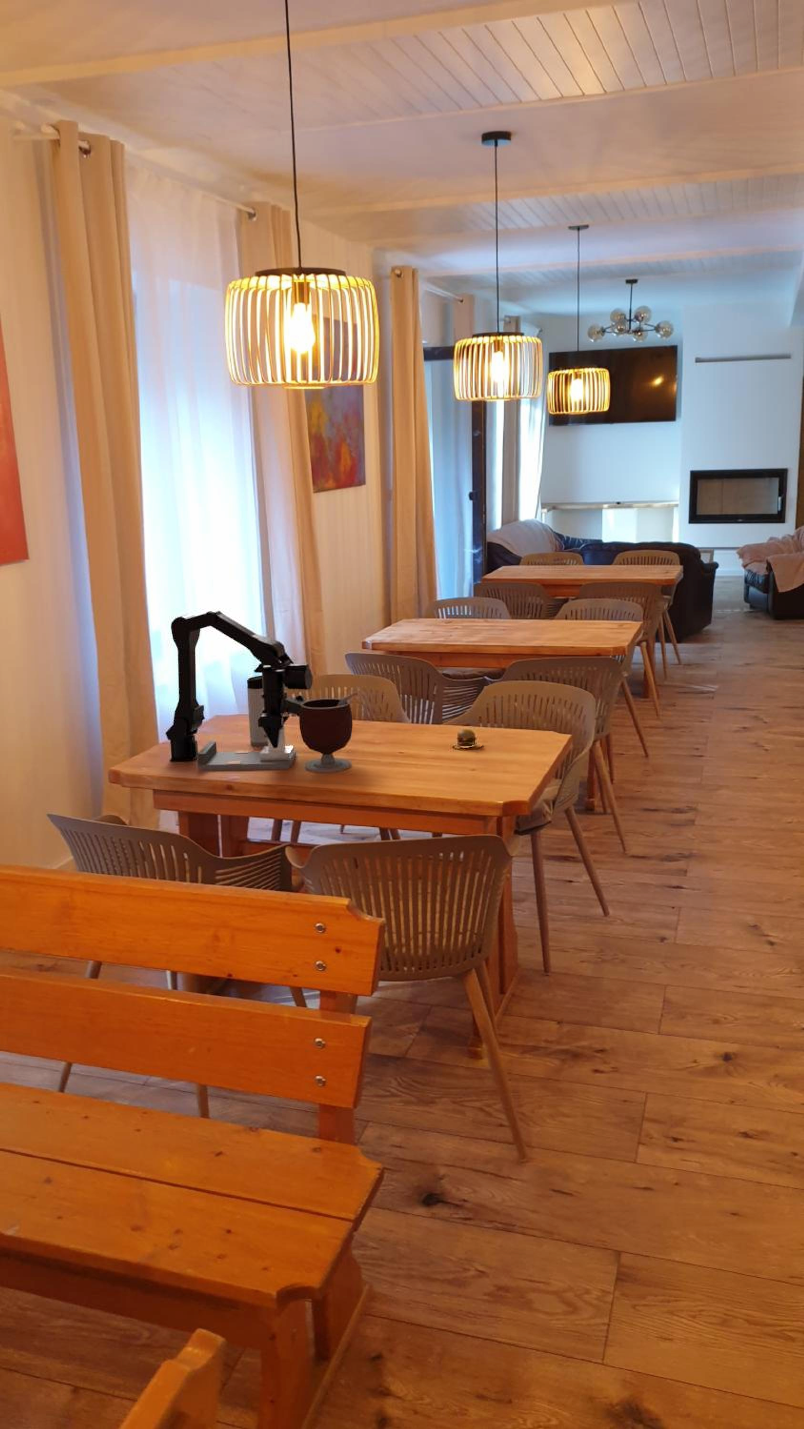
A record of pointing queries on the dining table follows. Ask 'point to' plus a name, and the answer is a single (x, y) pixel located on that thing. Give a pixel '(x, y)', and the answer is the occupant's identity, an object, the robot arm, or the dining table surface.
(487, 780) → the dining table surface
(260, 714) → the travel mug
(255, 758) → the slide board
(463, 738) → the hamburger
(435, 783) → the dining table surface
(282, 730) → the slider
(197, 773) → the dining table surface
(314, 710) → the mate gourd
